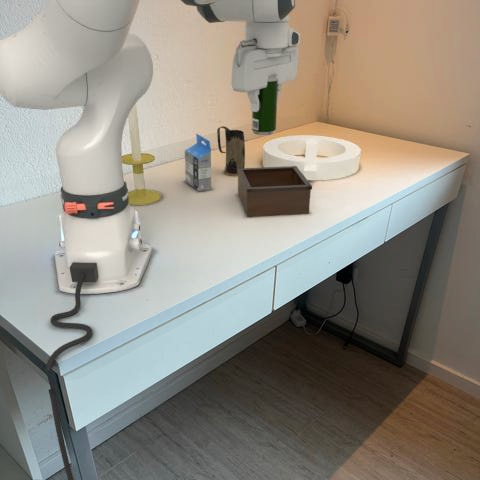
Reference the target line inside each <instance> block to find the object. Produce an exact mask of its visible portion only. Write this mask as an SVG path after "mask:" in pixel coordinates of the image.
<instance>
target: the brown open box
mask: <svg viewBox="0 0 480 480" xmlns="http://www.w3.org/2000/svg"><path fill="white" fill-rule="evenodd" d="M237 172H238V176H237V196H238V198H239V201H240V203H241V205H242V209H243V210H244V213H245V216H246V217H247V218H255V217H256V218H258V217H273V216H293V215H296V216H297V215H309V214H310V202H311V192H312V190H313V184H311V183H310V181H309V180H307V179H306V178H305V177H304V175H303V174H302V173H301V171H300V170H299V169H298V167H297V166H286V167H264V166H263V167H244V168H237Z"/></svg>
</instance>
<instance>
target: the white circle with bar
mask: <svg viewBox="0 0 480 480" xmlns="http://www.w3.org/2000/svg"><path fill="white" fill-rule="evenodd" d="M361 155H362V149H361V148H360V146H359V145H357V144H356V143H353V142H351V141H349V140H346V139H342V138H338V137H332V136H325V135H310V134H307V135H306V134H305V135H304V134H302V135H301V134H300V135H298V134H297V135H288V136H279V137H276V138H273V139H270V140H268V141H267V142H265V143H263V146H262V166H263V167H286V166H297V167H298V169H299V170H300V171H301V173H302V174H303V175H304V177H305V178H306V179H307V180H308V181H329V180H337V179H343V178H347V177H350V176H352V175H354V174H356V173H357V172H358V171H359V167H360V161H361ZM318 156H320V157H318Z"/></svg>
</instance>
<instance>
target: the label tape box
mask: <svg viewBox="0 0 480 480" xmlns="http://www.w3.org/2000/svg"><path fill="white" fill-rule="evenodd" d="M195 135H196V143H195V144H193V145H191V146H190V147H188V148H186V149H185V150H184V173H185V174H184V175H185V177H184V179H185V183H187V184H188V185H189V186H191V187H192V188H194V189H195V190H197V191H198V192H204V191H210V190H212V148H211V141H210V140H209V139H207V138H205V137H203V136H202V135H200V134H198V133H195ZM202 142H203V143H202ZM204 143H205V144H204Z"/></svg>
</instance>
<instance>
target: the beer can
mask: <svg viewBox="0 0 480 480" xmlns="http://www.w3.org/2000/svg"><path fill="white" fill-rule="evenodd" d="M277 91H278V79H277V74H276V75H271V76H268V81H267V87H266V88H262V89H259V95H258V99H259V102H261V111H258V112H253V111H251V131H252V133H253V134H254V135H258V136H272V135H274V134H275V132H276V131H277V113H278V112H277V111H278V105H277Z"/></svg>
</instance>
